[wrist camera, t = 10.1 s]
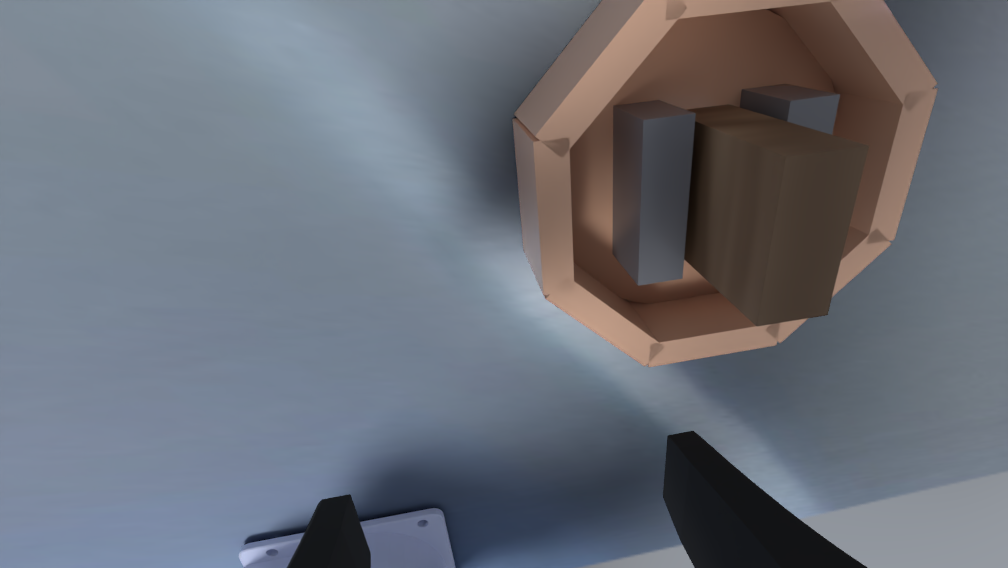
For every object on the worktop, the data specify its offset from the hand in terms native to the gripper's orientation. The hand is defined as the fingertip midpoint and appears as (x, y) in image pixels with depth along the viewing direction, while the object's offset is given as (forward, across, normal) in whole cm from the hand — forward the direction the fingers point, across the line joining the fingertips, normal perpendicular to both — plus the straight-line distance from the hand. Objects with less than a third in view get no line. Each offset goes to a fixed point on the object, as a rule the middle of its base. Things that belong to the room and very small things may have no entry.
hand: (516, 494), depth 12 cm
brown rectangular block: (+8, -8, -4) cm, 12 cm away
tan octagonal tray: (+9, -8, -4) cm, 13 cm away
